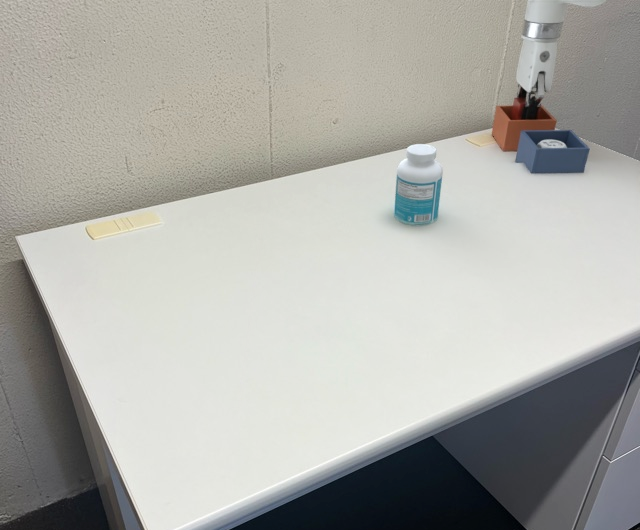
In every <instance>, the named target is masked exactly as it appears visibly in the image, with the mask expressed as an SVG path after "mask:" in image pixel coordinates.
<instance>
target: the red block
mask: <svg viewBox="0 0 640 530" xmlns="http://www.w3.org/2000/svg"><path fill="white" fill-rule="evenodd" d="M531 98H532V96H531V97H530V99H531ZM525 103H526V97H525V98H517V97H514V98H513V104H512V105H513V108H512V113H511V119H512V120H521V115H522V110H523V106H525ZM541 105H542V103H541V102H540V107H541ZM540 107H539V109H538V114H537V119H536V120H538V117H539V112H540Z"/></svg>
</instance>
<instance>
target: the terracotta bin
mask: <svg viewBox="0 0 640 530" xmlns="http://www.w3.org/2000/svg"><path fill="white" fill-rule="evenodd" d="M512 108H513V104H511V105H510V104H509V105H496V107H495V110H494V111H495V112H494V117H493V123H492V130H491V136H492V135H493V136H494V137H493V136H492V137H493V139H494V138H495V139H496V140H497V142H496V143H497V144H498V146H499V148H500V149H501V150H502V152H517V150H518V145H519V139H520V134H521V131H527V130H556V125H557V121H558V120H557V119H556V118H555V117H554V116H553V115H552V114H551V113H550V112H549V111H548V109H546V107H544V105H542V104H541V107H540V112H539V117H538V120H512V119H511V113H512ZM495 139H494V140H495ZM496 140H495V141H496Z"/></svg>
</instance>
